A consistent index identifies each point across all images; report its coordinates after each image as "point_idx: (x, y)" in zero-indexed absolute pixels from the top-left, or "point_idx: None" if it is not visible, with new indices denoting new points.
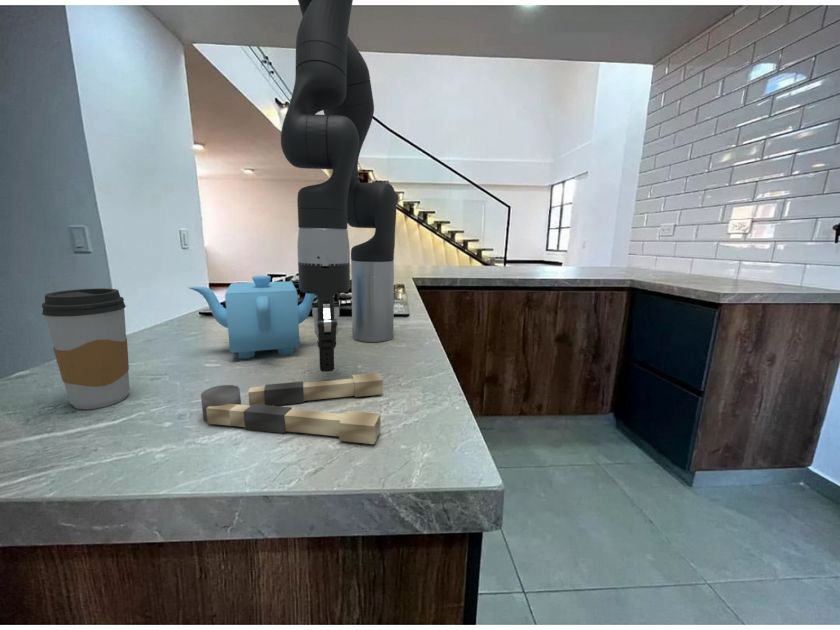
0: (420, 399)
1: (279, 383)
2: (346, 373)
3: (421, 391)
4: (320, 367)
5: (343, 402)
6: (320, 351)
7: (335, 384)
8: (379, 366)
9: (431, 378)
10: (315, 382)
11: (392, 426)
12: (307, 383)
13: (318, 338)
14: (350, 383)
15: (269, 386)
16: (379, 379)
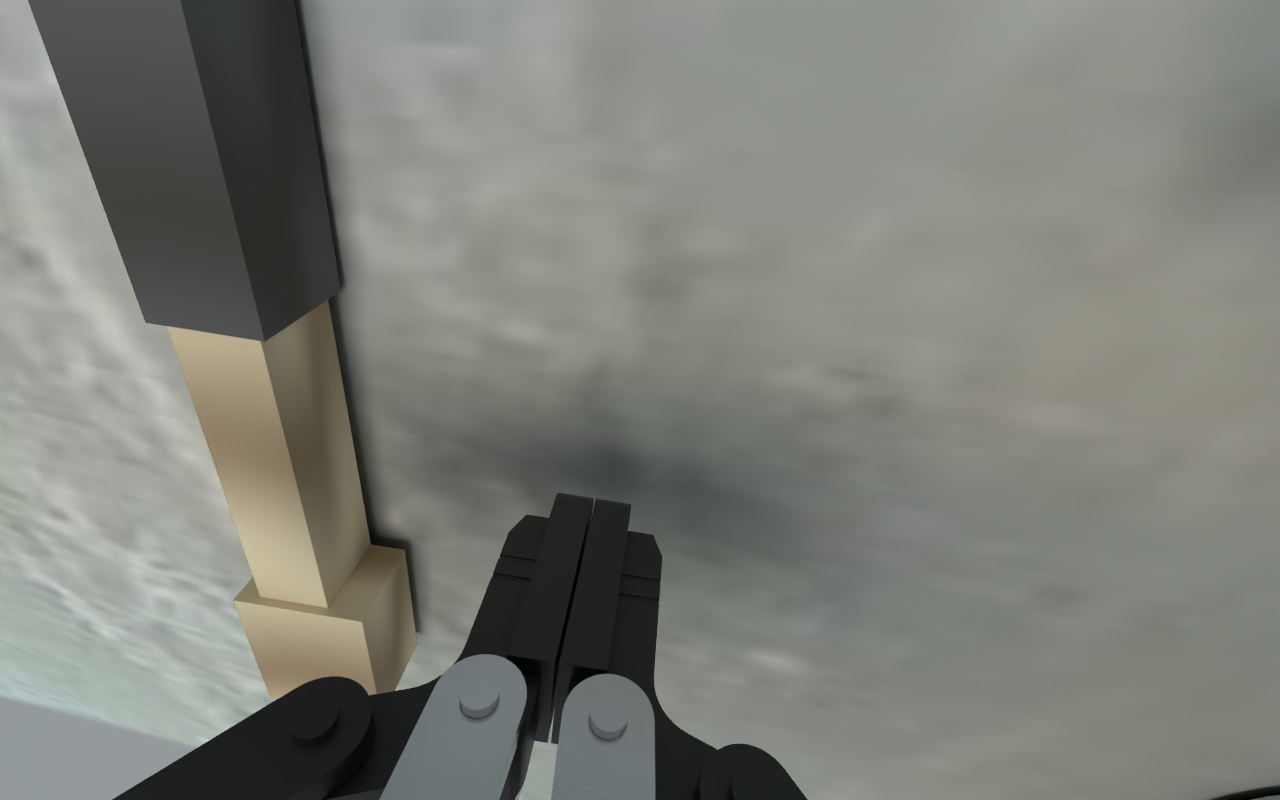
0: None
1: (212, 130)
2: (690, 583)
3: None
4: (552, 511)
5: None
6: (513, 637)
7: (232, 512)
8: (722, 720)
9: None
10: (267, 416)
11: (30, 557)
12: (247, 362)
13: (384, 795)
14: (257, 578)
15: (120, 10)
16: (277, 692)
